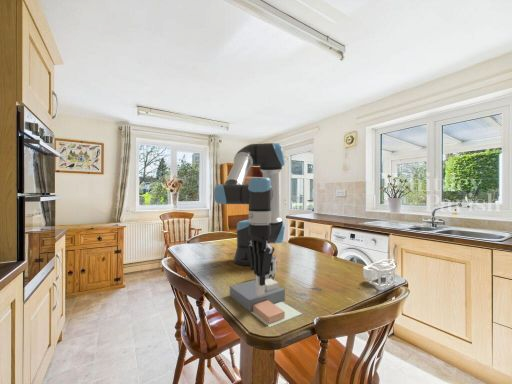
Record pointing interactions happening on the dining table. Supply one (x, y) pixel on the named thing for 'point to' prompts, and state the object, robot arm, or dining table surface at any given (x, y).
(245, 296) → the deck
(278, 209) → the robot arm
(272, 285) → the small tile
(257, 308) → the tile
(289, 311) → the mat
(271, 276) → the cup
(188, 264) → the dining table surface
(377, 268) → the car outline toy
